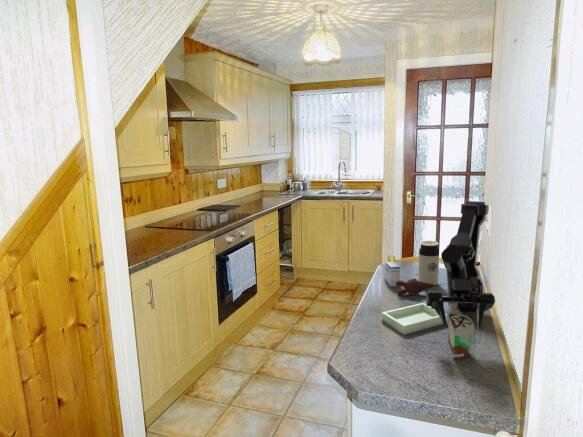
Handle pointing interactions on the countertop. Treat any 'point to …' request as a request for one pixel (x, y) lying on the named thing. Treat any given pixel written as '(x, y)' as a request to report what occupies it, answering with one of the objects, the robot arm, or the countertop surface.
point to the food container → (459, 334)
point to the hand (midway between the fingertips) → (462, 327)
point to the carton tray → (412, 318)
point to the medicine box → (392, 273)
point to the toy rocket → (413, 287)
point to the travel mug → (428, 262)
